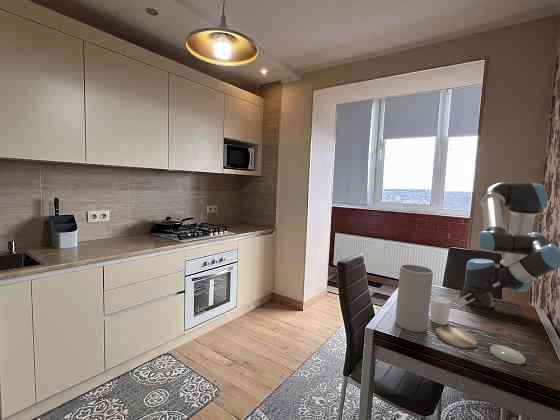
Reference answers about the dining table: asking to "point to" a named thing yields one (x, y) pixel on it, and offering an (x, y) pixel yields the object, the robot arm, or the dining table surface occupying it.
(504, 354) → the sage coaster
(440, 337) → the birch trivet
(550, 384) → the dining table surface
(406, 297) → the cylinder vase
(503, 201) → the robot arm
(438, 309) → the white cup
